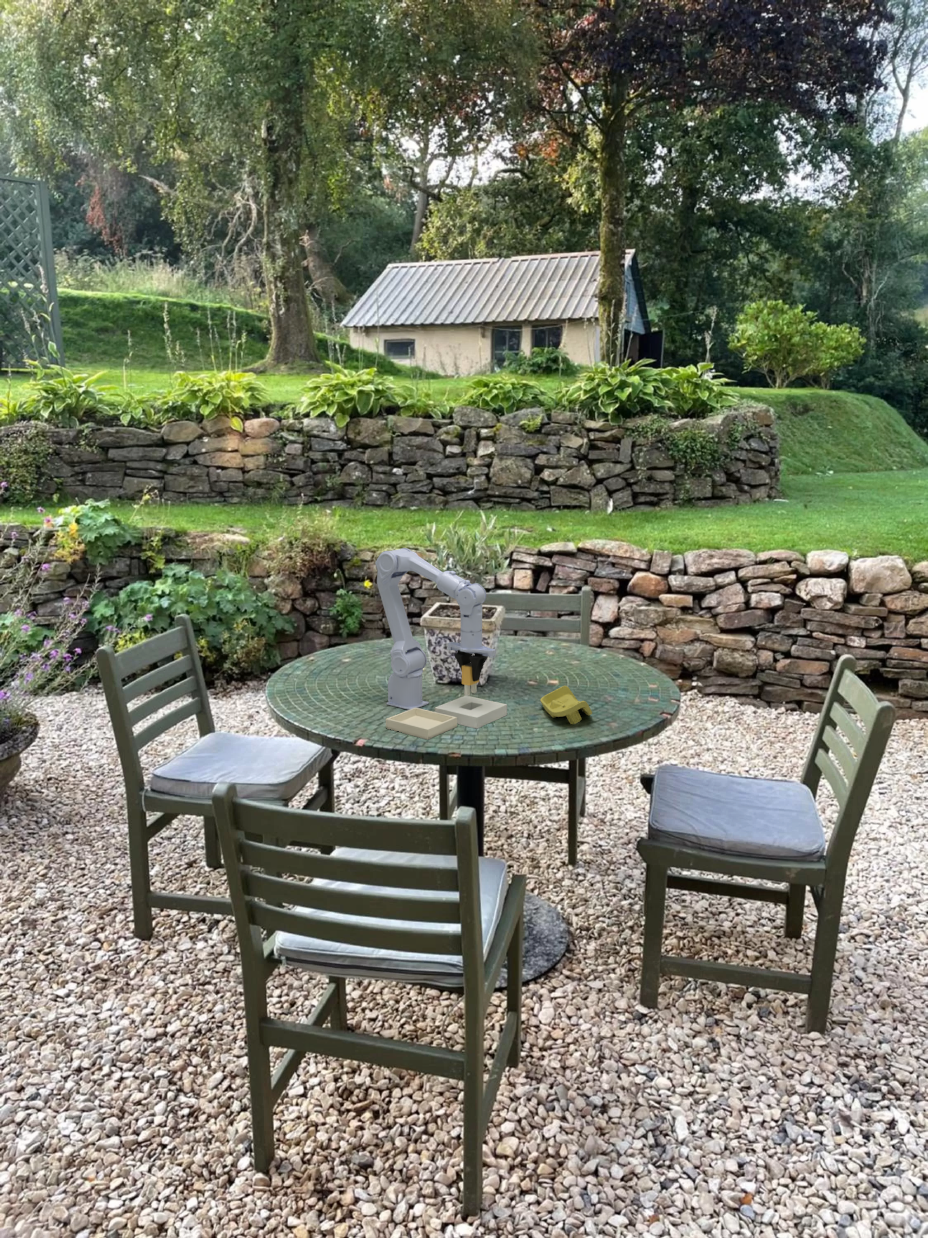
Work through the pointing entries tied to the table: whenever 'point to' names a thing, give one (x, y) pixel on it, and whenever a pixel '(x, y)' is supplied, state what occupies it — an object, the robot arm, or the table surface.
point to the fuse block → (473, 711)
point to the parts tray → (421, 723)
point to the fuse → (468, 679)
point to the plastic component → (564, 705)
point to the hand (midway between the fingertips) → (471, 679)
